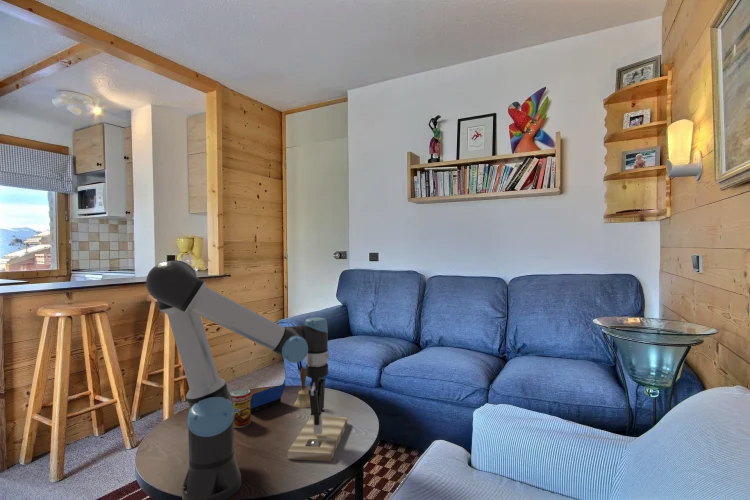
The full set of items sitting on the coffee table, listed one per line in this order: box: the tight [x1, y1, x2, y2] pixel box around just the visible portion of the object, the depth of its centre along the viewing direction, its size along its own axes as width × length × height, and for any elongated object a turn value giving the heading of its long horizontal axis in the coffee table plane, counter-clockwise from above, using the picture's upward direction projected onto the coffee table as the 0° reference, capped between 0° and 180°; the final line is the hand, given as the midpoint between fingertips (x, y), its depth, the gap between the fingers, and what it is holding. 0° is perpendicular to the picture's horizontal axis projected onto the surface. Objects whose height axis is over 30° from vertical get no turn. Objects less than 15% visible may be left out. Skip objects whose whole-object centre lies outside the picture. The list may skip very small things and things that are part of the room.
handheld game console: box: [250, 383, 286, 413], centre depth 164 cm, size 16×13×9 cm
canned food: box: [229, 387, 252, 429], centre depth 148 cm, size 8×8×12 cm
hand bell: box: [293, 366, 311, 409], centre depth 165 cm, size 8×8×16 cm
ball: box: [309, 441, 320, 447], centre depth 126 cm, size 3×3×3 cm
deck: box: [287, 415, 348, 462], centre depth 133 cm, size 26×14×2 cm, turn 173°
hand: (318, 432), depth 131 cm, fingers closed
